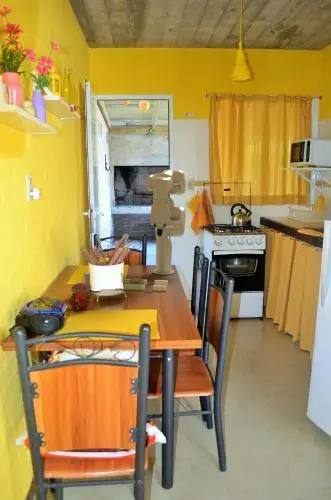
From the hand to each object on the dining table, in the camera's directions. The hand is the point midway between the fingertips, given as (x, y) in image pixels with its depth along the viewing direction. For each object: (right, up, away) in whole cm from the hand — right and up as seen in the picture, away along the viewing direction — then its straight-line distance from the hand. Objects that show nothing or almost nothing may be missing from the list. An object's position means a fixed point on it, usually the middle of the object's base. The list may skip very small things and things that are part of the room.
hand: (159, 236), depth 225 cm
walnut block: (-13, -27, -7) cm, 30 cm away
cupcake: (-36, -30, -29) cm, 55 cm away
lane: (-9, -27, -7) cm, 29 cm away
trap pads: (-5, -27, -7) cm, 28 cm away
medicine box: (-33, -28, -16) cm, 46 cm away
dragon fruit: (-33, -33, -46) cm, 66 cm away
